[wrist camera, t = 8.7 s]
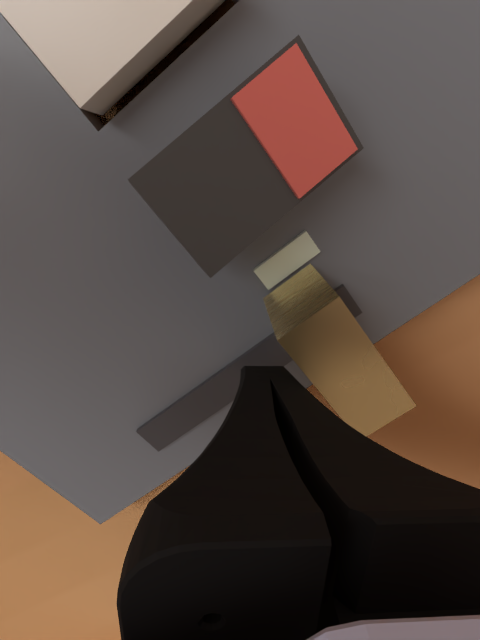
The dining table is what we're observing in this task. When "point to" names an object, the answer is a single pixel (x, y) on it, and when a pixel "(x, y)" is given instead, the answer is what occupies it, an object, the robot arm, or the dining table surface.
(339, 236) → the switch panel
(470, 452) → the dining table surface
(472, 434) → the dining table surface
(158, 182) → the rocker switch
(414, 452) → the dining table surface
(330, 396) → the block
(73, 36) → the push button
